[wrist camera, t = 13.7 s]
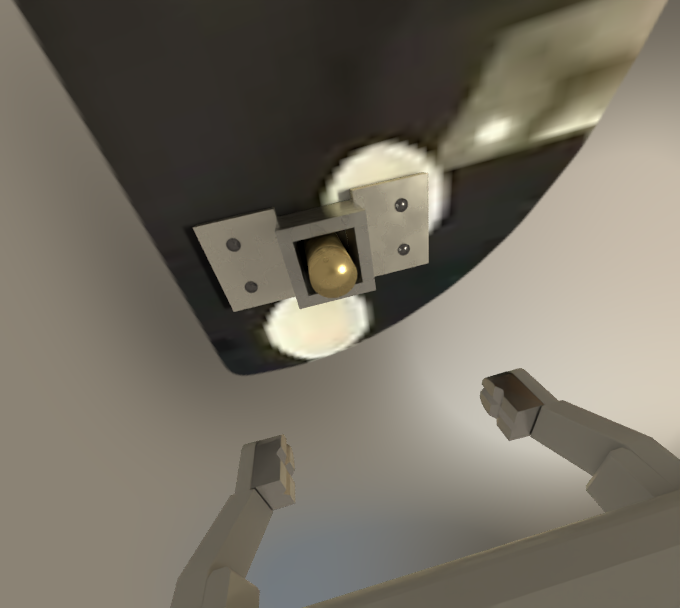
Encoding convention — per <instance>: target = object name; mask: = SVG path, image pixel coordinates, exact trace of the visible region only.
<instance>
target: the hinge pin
mask: <svg viewBox="0 0 680 608" xmlns="http://www.w3.org/2000/svg"><path fill="white" fill-rule="evenodd" d="M304 247H305V253H306V259H307V265H308V270H309V276H310V282H311V285H312V287H313V289H314V290H315V291H316V292H317V293H318V294H320V295H321V296H323V297H327V298H337V297H341V296H343V295H345V294H347V293H348V292H349V291H350V290H351V289H352V288H353V287H354V285H355V283H356V280H357V269H356V267H355V265H354V263H353V261H352V260H351V258H350V256H349V255H348V253H347V251H346V249H345V248H344V246H343V244H342V243H341V241H340V239H339V238H338V236H337V234H336V233H335V232H332V233H328V234H324V235H319V236H315V237H311V238H307V239H305V241H304Z"/></svg>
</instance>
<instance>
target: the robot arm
mask: <svg viewBox="0 0 680 608" xmlns="http://www.w3.org/2000/svg"><path fill="white" fill-rule="evenodd" d="M482 385H483V386H484V388H483V390H482V391H481V392H480V399H481V402H482V405H483V407H484V408H485V410H486V411H487V413H488V414H489V415H490V416H492V417H494V418H496V419H497V426H498V427H499V428H500V430H501V431H502V432H503V434H504V435H505V436H506V438H507V439H508V440H509V441H511V440H514V439H518V438H522V437H526V436H530V435H531V437H532V438H533V439H535V440H537V441H538V442H540V443H541V444H543V445H545V446H546V447H548V448H549V449H551V450H553V451H554V452H556V453H557V454H559V455H560V456H562V457H563V458H565V459H567V460H568V461H570V462H571V463H573V464H575V465H577V466H578V467H579V468H581V469H583V470H584V471H586V472H587V473H589V474H590V475H592V476H593V477H592V478H591V480H590V481H589V483H588V484H587V485H586V491H587V492H588V493H589V494H590V495H591V497H592V498H593V499H594V500H595V501H596V502H597V503H598V505H599V506H600V507H601V508H602V509H603V510H604V511H605V513H603V514H600V515H597V516H594V517H591V518H587V519H584V520H581V521H577V522H574V523H571V524H568V525H565V526H561V527H559V528H555V529H552V530H549V531H546V532H543V533H539V534H536V535H533V536H530V537H526V538H523V539H520V540H517V541H514V542H510V543H508V544H504V545H501V546H498V547H495V548H492V549H488V550H485V551H482V552H479V553H475V554H472V555H469V556H466V557H463V558H460V559H456V560H453V561H450V562H447V563H444V564H441V565H437V566H434V567H431V568H428V569H424V570H421V571H418V572H415V573H412V574H408V575H405V576H402V577H399V578H396V579H392V580H389V581H386V582H383V583H380V584H377V585H374V586H370V587H367V588H364V589H361V590H358V591H354V592H351V593H348V594H345V595H342V596H339V597H335V598H332V599H329V600H326V601H323V602H319V603H316V604H313V605H310V606H306V607H303V608H680V459H678V458H677V457H676V456H674V455H673V454H672V453H671V452H669V451H668V450H667V449H666V448H664V447H663V446H662V445H661V444H659V443H658V442H657V441H656V440H654V439H653V438H651V437H649V436H647V435H644V434H642V433H640V432H637V431H635V430H632V429H630V428H628V427H625V426H623V425H621V424H618V423H616V422H613V421H611V420H608V419H606V418H604V417H602V416H599V415H597V414H594V413H592V412H590V411H587V410H585V409H583V408H580V407H578V406H575V405H573V404H571V403H568V402H566V401H563V400H562V401H558V400H557V399H556V398H555V397H554V396H553V395H552V394H551V393H550V392H548V391H547V390H546V389H545V388H544V387H543V386H542V385H541V384H540V383H539V382H537V381H536V380H535V379H534V378H533V377H532V376H531V375H530V374H529V373H528V372H526V371H525V370H524V369H522V368H519V369H515V370H512V371H508V372H503V373H500V374H497V375H493V376H490V377H487V378H484V379H483V381H482ZM294 471H295V465H294V457H293V452H292V449H291V447H290V445H288V444H286V438H285V436H284V434H283V435H279V436H275V437H272V438H267V439H264V440H260V441H256V442H252V443H248V444H245V445H244V446H243V448H242V450H241V457H240V462H239V469H238V476H237V482H236V488H235V494H233V495H231V496H230V497H229V499H228V500H227V502H226V503H225V505H224V506H223V508H222V510H221V511H220V513H219V514H218V516H217V518H216V519H215V521H214V523H213V524H212V526H211V527H210V529H209V530H208V532H207V533H206V535H205V537H204V538H203V540H202V541H201V543H200V545H199V546H198V548H197V549H196V551H195V553H194V554H193V556H192V557H191V559H190V560H189V562H188V564H187V565H186V567H185V569H184V570H183V572H182V573H181V575H180V576H179V578H178V580H177V584H176V588H175V591H174V595H173V599H172V603H171V607H170V608H259V593H260V591H259V590H258V588H257V587H256V586H255V585H253V584H252V583H250V582H249V581H247V580H246V579H245V577H246V575H247V572H248V570H249V568H250V565H251V563H252V561H253V558H254V556H255V554H256V551H257V549H258V546H259V544H260V542H261V539H262V537H263V535H264V533H265V530H266V528H267V525H268V523H269V521H270V518H271V516H272V514H273V510H276V509H280V508H283V507H286V506H289V505H292V504H295V482H294V481H293V479H292V477H291V476H292V475H293V473H294Z"/></svg>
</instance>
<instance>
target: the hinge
mask: <svg viewBox="0 0 680 608" xmlns="http://www.w3.org/2000/svg"><path fill="white" fill-rule="evenodd" d="M350 195H351V199H350V200H346V201H342V202H337V203H333V204H329V205H325V206H320V207H316V208H312V209H307V210H303V211H299V212H295V213H290V214H286V215H282V216H278V217H277V214H276V211H275V208H274V207H271V208H267V209H262V210H258V211H254V212H249V213H245V214H241V215H236V216H232V217H228V218H223V219H219V220H215V221H210V222H206V223H202V224H198V225H195V226H194V227H193V230H194V232H195V234H196V236H197V238H198V240H199V242H200V244H201V246H202V248H203V250H204V252H205V254H206V256H207V258H208V260H209V262H210V264H211V266H212V268H213V270H214V272H215V274H216V276H217V278H218V280H219V282H220V284H221V287H222V289H223V291H224V293H225V295H226V297H227V299H228V301H229V303H230V305H231V307H232V309H233V311H234V312H235V311H239V310H243V309H247V308H251V307H255V306H259V305H263V304H267V303H271V302H275V301H279V300H283V299H287V298H291V297H295V296H296V299H297V302H298V305H299V308H300V309H302V308H306V307H310V306H314V305H318V304H322V303H326V302H330V301H334V300H338V299H342V298H346V297H350V296H353V295H357V294H361V293H365V292H369V291H373V290H376V287H375V279H374V277H375V276H379V275H383V274H387V273H391V272H395V271H399V270H403V269H407V268H411V267H415V266H419V265H423V264H427V263H429V260H428V173H425V172H422V173H418V174H413V175H409V176H405V177H400V178H396V179H392V180H387V181H383V182H379V183H374V184H370V185H366V186H361V187H357V188H353V189H350ZM344 229H345V232H346V237H347V243H348V249H349V254H350V258H351V260H352V261H353V263H354V265H355V267H356V269H357V280H356V283H355V285H354V287H353V288H352V289H351V290H350V291H349V292H348V293H347V294H345V295H343V296H341V297H337V298H327V297H323V296H321V295H320V294H318V293H317V292H316V291H315V290H314V289H313V287H312V285H311V282H310V276H309V271H307V272H305V270H304V267H303V263H302V260H301V256H300V253H299V249H298V246H297V242H296V241H299V240H303V239H307V238H311V237H315V236H319V235H324V234H328V233H332V232H336V231H340V230H344Z"/></svg>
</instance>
